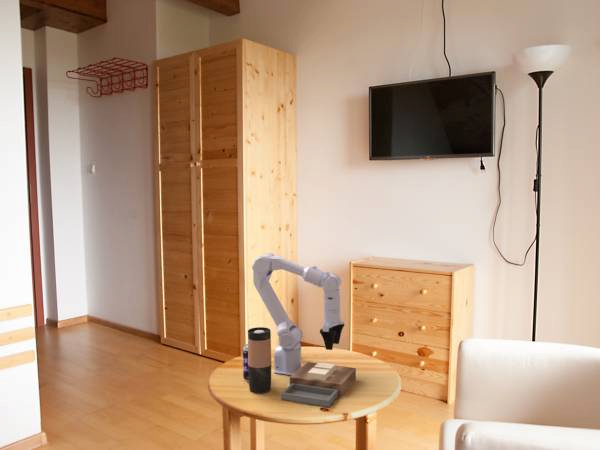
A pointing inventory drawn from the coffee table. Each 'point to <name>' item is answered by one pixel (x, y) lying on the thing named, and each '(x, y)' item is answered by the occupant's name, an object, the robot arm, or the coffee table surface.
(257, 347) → the travel mug
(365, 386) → the coffee table surface
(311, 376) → the tile front
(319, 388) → the box
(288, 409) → the coffee table surface
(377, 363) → the coffee table surface
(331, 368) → the tile back
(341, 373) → the brown wooden block
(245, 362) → the beverage can
